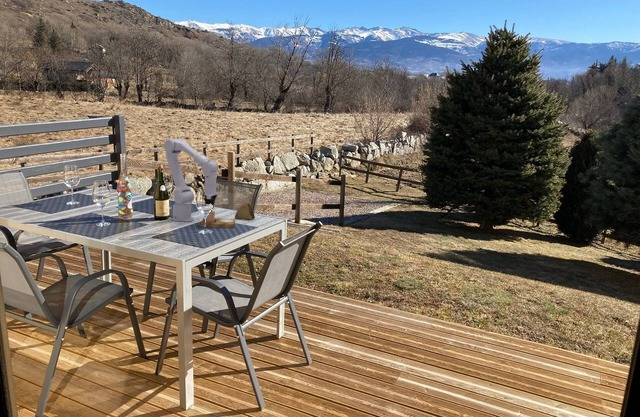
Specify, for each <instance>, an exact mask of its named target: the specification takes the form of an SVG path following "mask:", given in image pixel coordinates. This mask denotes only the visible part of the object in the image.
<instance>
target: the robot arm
mask: <svg viewBox="0 0 640 417" xmlns="http://www.w3.org/2000/svg"><path fill="white" fill-rule="evenodd" d="M163 148H164V150H165V157H166V162H167V165H168V168H169V171H170V174H171V176H172V180H173V182H174V186H175V189H174V190H173V196H174V197H173V198H174V201H175V203H174V204H173V206H172V222H191V221H192V220H193V219H194V217H193V216H192V204H193V201H194V199H195V194H194V192H193V191H192V189H191V187H190V186H188V185H187V184H186V180H185V177H184V175H183V171H182V168H181V165H180V162H179V159H178V157H179V155H180V154H181V153H182V152H184V153H185V154H186V155H188V156H190V157H191V158H193V162H194V163H196V164H197V165H198V166H199V167H201V168H202V170H203V174H204V195H205V197H204V198H203V201H204V203H205V205H206V204H210V203H211V204H212V205H213V208H212V210H211V212H212V211H213V209H214V207H215V202H216V199H217V197H218V195H219V192H217V172H218V171H219V164H218V162H217V161H215V160H211V158H208V157H207V156H206V155H205V153H203V152H197V151H196V150H195V149H194V148H192V146H190V144H188V143H187V140H185V139H183V138H182V137H179V138H168V139H166V140H165V141H164V143H163Z"/></svg>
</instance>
